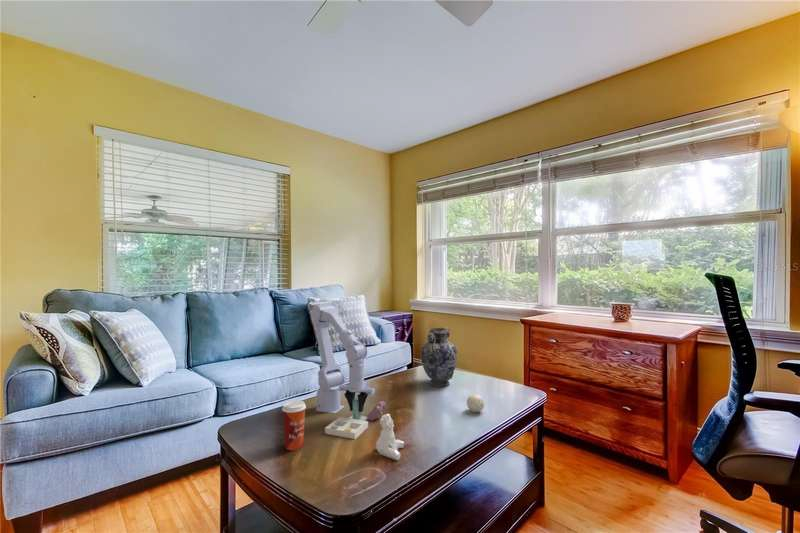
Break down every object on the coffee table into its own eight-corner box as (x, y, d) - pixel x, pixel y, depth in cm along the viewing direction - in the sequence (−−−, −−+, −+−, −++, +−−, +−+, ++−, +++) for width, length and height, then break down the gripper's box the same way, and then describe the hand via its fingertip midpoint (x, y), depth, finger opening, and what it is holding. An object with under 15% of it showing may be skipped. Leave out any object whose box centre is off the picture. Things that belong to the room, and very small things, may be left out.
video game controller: (375, 426, 134) (383, 410, 133) (365, 420, 135) (373, 404, 134) (382, 415, 144) (389, 401, 143) (372, 410, 145) (380, 395, 144)
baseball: (471, 416, 139) (471, 399, 139) (464, 409, 146) (464, 392, 146) (487, 414, 140) (487, 397, 141) (479, 407, 148) (479, 391, 148)
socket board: (325, 434, 124) (325, 426, 124) (339, 423, 133) (339, 416, 133) (355, 440, 120) (355, 432, 120) (368, 427, 129) (367, 420, 129)
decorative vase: (447, 392, 165) (445, 333, 166) (413, 386, 175) (412, 330, 176) (464, 381, 183) (463, 327, 184) (433, 376, 193) (432, 325, 194)
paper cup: (293, 454, 111) (292, 410, 111) (277, 448, 115) (276, 405, 115) (311, 444, 117) (311, 402, 117) (295, 438, 121) (295, 397, 122)
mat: (344, 422, 134) (344, 421, 134) (353, 415, 140) (353, 414, 140) (360, 425, 131) (360, 424, 131) (368, 418, 138) (368, 417, 138)
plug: (351, 418, 135) (350, 400, 135) (355, 415, 138) (354, 397, 138) (358, 419, 134) (358, 401, 134) (362, 416, 137) (362, 398, 137)
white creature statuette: (399, 461, 106) (399, 421, 106) (372, 459, 108) (371, 420, 108) (404, 446, 115) (404, 409, 116) (379, 444, 117) (379, 408, 117)
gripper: (334, 376, 135) (334, 412, 135) (368, 380, 130) (369, 417, 130) (344, 371, 141) (344, 405, 141) (376, 375, 136) (376, 410, 136)
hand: (356, 410), depth 136 cm, fingers closed on plug, 3 cm apart
